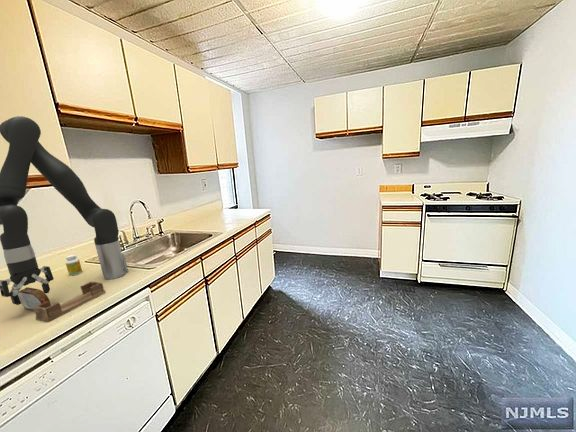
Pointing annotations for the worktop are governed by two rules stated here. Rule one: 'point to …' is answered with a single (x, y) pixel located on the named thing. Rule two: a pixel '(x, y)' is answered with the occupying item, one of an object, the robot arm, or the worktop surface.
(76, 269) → the supplement bottle
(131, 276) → the worktop surface
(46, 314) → the rack
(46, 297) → the tin
